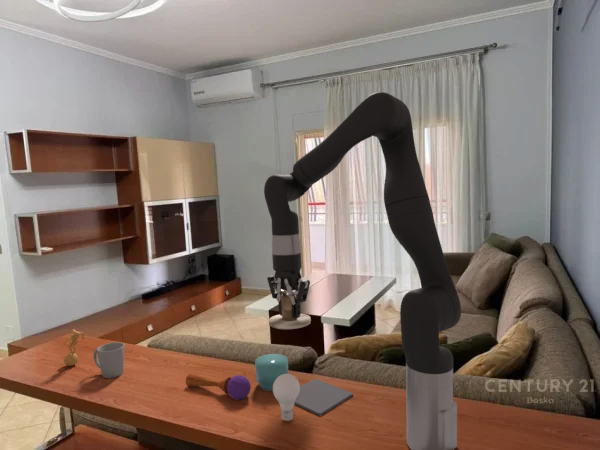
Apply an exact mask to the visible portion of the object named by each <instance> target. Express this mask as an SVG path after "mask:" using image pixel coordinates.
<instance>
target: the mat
mask: <svg viewBox="0 0 600 450" xmlns="http://www.w3.org/2000/svg"><path fill="white" fill-rule="evenodd" d="M353 396H354V393H353V392H351V391H347V390H346V389H343V388H341V387H338V386H335V385H333V384H331V383H328V382H325V381H323V380H320V379H317V378H314V379H312V380H310V381H308V382H306V383H305V384H303V385H300V392H299V395H298V397H297V399H296V400H295V402H294V406H295V405H296V406H298V407H300V408H302V409H304V410H306V411H308V412H311V413H313V414H315V415H317V416H319V417H321V416H323V415H324V414H326V413H327V412H329V411H330V410H332V409H334V408H335V407H337V406H338V405H341V404H342V403H344V401H347V400H348V399H350V398H352V397H353Z"/></svg>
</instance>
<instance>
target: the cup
mask: <svg viewBox="0 0 600 450" xmlns="http://www.w3.org/2000/svg"><path fill="white" fill-rule="evenodd" d="M93 361H94V363H95V365H96V366H97V367H98V368H99V369H100V372H101V376H102V378H105V379H113V378H117V377H119V376H122V374H123V373H124V364H125V363H124V361H125V343H123V342H120V341H119V342H117V341H116V342H108V343H105V344H104V343H103V344H102V345H100V346H98V347H97V348H96V349H94V351H93Z"/></svg>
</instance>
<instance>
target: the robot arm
mask: <svg viewBox="0 0 600 450" xmlns="http://www.w3.org/2000/svg"><path fill="white" fill-rule="evenodd" d="M413 130H414V129H413V123H412V116H411V113H410V109H409V107H408V106H407V105H406V103H405V102H404V101H403V100H401V99H399V98H397V97H395V96H394V95H392V94H390V93H388V92H384V91H377V92H373V93H371V94H369V95H368V96H367V97H365V98H364V99H363V100H362V101H361V102H360V103H359V104H358V105H357V106H356V107H355V108H354V109H353V110H352V111H351V113H350V114H349V115H348V116H347V117H346V118H345V119H344V120H343V121H342V122H341V123H340V124H339V125H338V126H337V127H336V128H335V129H334V130H333V131H332V132H331V133H330V134H329V135H328V136H327V137H326V138H325V139H323V140H322V141H321V142H320V143H318V145H317V146H315V147H314V148H313V149H311V150H310V151H309V152H307V153H306V154H304V155H302V157H300V158H299V159H298V160H297V161H296V162H295V163H294V165H293V167H292V171H291V172H290V173H288V174H272V175H270V176H269V177H268V178H267V179H266V181H265V183H264V187H263V188H264V189H263V193H264V194H263V195H264V198H265V199H264V200H265V203H266V206H267V209H268V213H269V216H270V219H271V234H272V235H271V236H272V237H271V254H272V255H271V256H272V258H271V259H272V270H273V271H274V275H270V276H268V277H267V278H266V279H267V283H268V286H269V291H270V293H271V297H272V299H276V302H278V312H279V314H280V315H281V316H282V305H281V296H283V295H289V296H290V298H291V302H292V318H294V319H296V318H299V317H300V314H302V312H301V304H302V303H304V302H306V301H307V299H308V295H309V294H308V293H309V290H310V284H311V280H310V279H304V278H303V277H302V274H301V270H302V268H303V266H302V264H303V263H302V247H301V245H302V244H301V238H300V222H299V216H298V213H297V212H295V211H293V210H291V209H290V208H291V207H290V204H289V202H294V201H297V200H298V199H300V198H301V197H303V196H304V195H305V194H306V193H307V192H308V191H309V190H310V189H311V187H312V186H313V185H314V184H316V183H318V182H319V181H320V180H322V179H323V178H325V177H326V176H328V175H329V174H331V172H333V171H334V170H335V169H336V168H337V167H338V166H339V164H340V163H341V161H342V160H343V159H344V157H345V156H346V155H347V154H348V153H349V152H350V151H351V150H352V149H353V148H354V147H355V146H357V145H358V144H360V143H361V142H363V141H365V140H366V139H370V138H372V137H375V138H377V139H378V142H379V144H380V147H381V151H382V154H383V158H384V162H385V176H384V177H385V179H384V186H383V202H384V203H383V204H384V208H385V209H384V210H385V213H386V217H387V221H388V225H389V227H390V230H391V233H392V234H393V236H394V238H396V240H397V242H398V243H399V244H400V245H401V247H402V248H403V250H404V251H406V253H407V254H408V255H409V257H410V258H411V260H412V261H413V264H414V265H415V268H416V270H417V273H418V277H419V280H420V281H419V282H420V286H421V287H420V288H416V289H413V290H410V291H408V292H406V293H405V294H404V295H403V298H402V300H401V303H400V310H399V312H400V313H399V321H400V334H401V345H402V350H403V353H404V355H405V371H406V372H405V384H406V385H405V393H406V394H405V396H406V397H405V399H406V400H405V401H406V405H405V406H406V407H405V409H406V411H405V412H406V432H405V433H406V444H407V446H408V447H409V449H410V450H455V449H456V448H457V446H458V403H457V401H454V355H453V353H452V351H451V350H450V349H448V348H447V347H444V346H443V345H440V332H444V331H446V330H450V329H452V328H454V327H455V326H457V324H458V323H459V322H460V321H461V317H462V305H461V301H460V297H459V294H458V291H457V288H456V286H455V282H454V280H453V277H452V275H451V272H450V269H449V267H448V264H447V261H446V257H445V255H444V251H443V249H442V248H443V247H442V244H441V241H440V237H439V233H438V229H437V226H436V222H435V217H434V213H433V209H432V204H431V201H430V198H429V197H430V196H429V194H428V189H427V187H426V183H425V180H424V175H423V172H422V168H421V165H420V162H419V159H418V153H417V150H416V144H415V137H414V131H413ZM295 295H296V299H295Z"/></svg>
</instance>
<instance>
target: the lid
mask: <svg viewBox="0 0 600 450" xmlns="http://www.w3.org/2000/svg"><path fill="white" fill-rule="evenodd" d="M295 299H296V295H295ZM281 305H282V316H281V315H280V313H279V314H276V315H273V316H271V317H270V318H269V319H268V326H270V327H272V328H273V329H277V330H295V329H300V328H304V327H307V326H309V325H310V324H311V323H312V322H311V321H312V319H311V316H310V315H308V314H305V313H301V314H300V317H299V318H296V319H294V318H292V302H291V298H290V296H289V295H288V294H287V295H283V296H281Z"/></svg>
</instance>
